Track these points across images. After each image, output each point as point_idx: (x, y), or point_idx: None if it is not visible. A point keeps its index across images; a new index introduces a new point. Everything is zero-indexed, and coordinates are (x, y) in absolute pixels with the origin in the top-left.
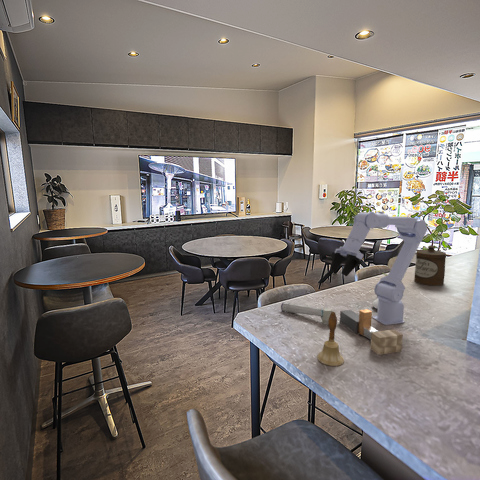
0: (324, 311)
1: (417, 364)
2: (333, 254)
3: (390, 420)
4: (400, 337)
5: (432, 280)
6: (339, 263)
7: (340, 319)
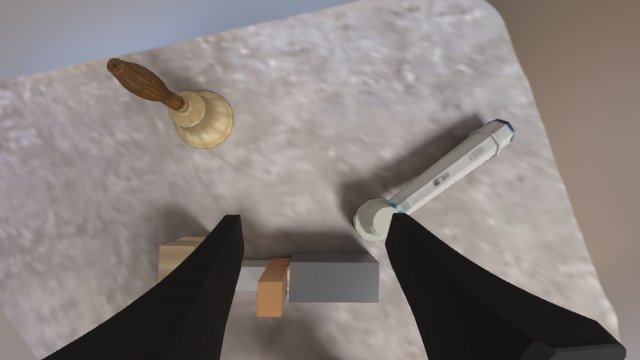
0: (383, 206)
1: (126, 292)
2: (544, 318)
3: (7, 112)
4: None
5: None
6: (425, 324)
7: (369, 255)
